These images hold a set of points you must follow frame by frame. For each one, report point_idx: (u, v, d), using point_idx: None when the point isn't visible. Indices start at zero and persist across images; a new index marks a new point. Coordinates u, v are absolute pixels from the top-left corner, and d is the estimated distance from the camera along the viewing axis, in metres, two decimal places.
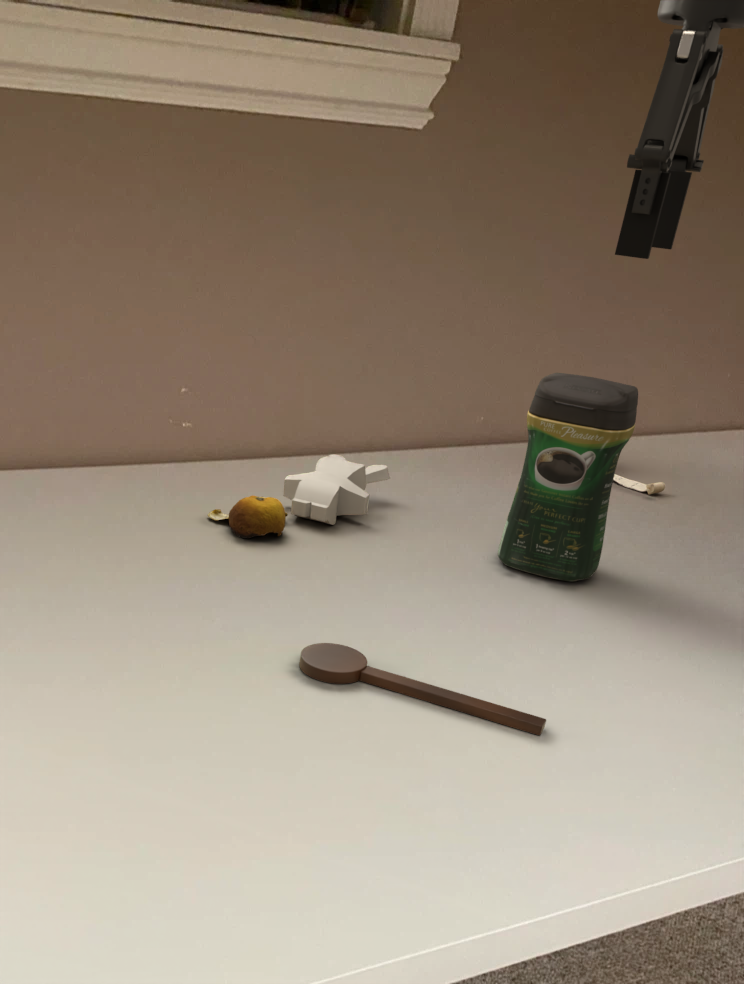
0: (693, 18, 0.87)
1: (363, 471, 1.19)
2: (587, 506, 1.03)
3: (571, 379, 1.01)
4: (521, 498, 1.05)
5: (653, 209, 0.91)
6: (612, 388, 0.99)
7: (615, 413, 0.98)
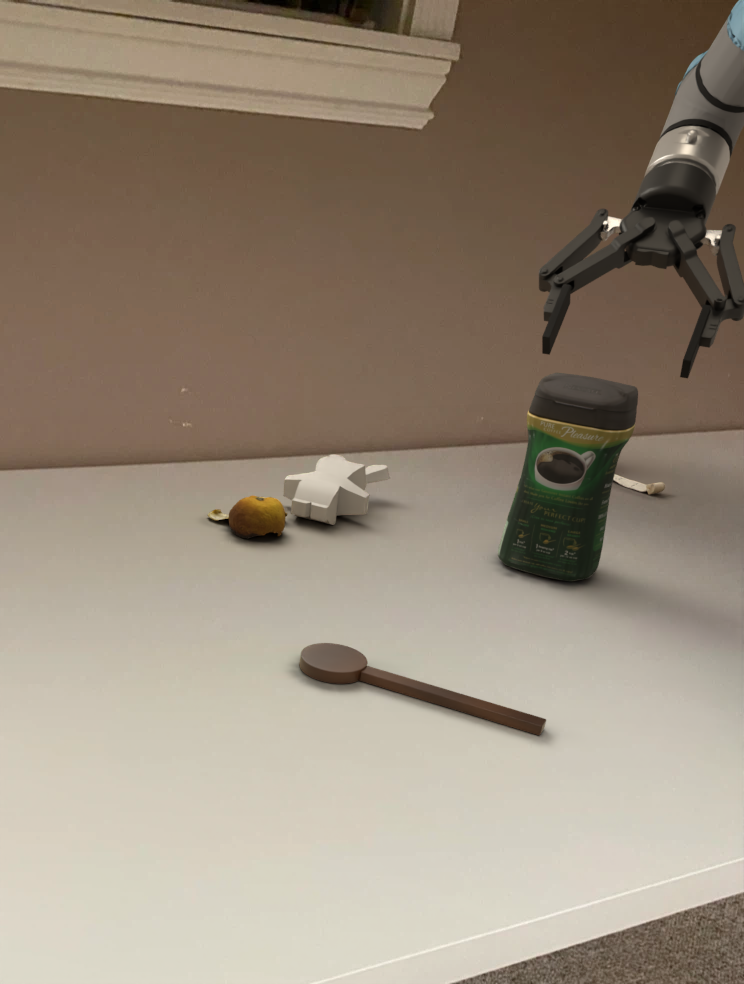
0: (706, 219, 1.11)
1: (363, 471, 1.19)
2: (587, 506, 1.02)
3: (571, 379, 1.01)
4: (521, 498, 1.05)
5: None
6: (612, 388, 0.99)
7: (615, 413, 0.98)
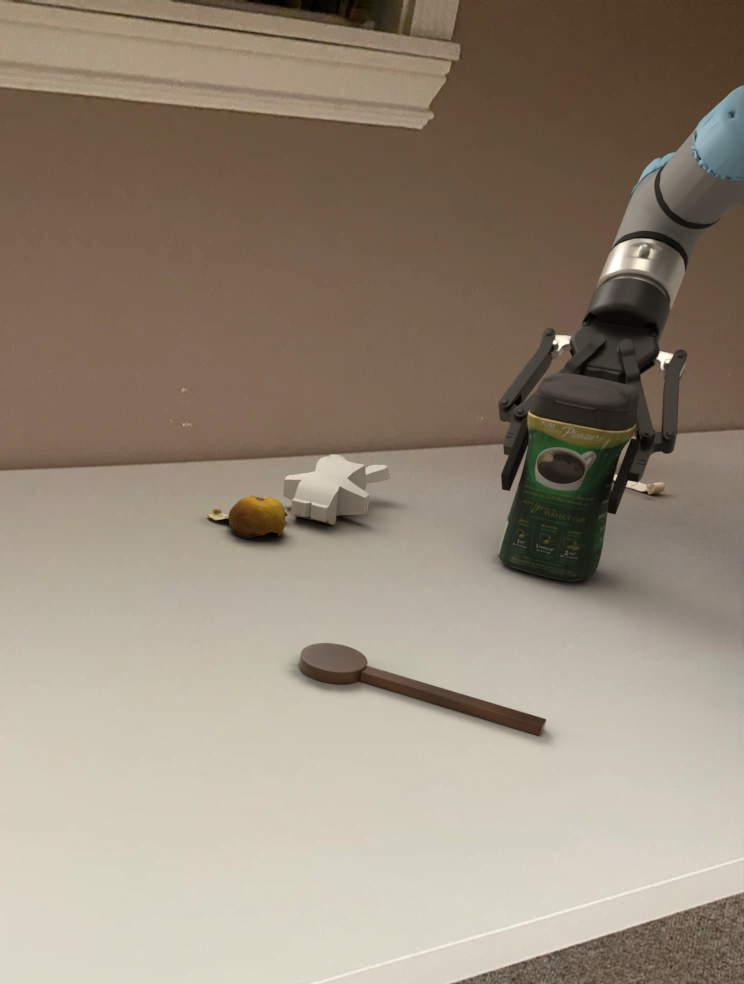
0: (659, 336, 1.06)
1: (363, 471, 1.19)
2: (587, 506, 1.02)
3: (571, 379, 1.01)
4: (521, 498, 1.05)
5: None
6: (613, 388, 0.99)
7: (615, 413, 0.98)
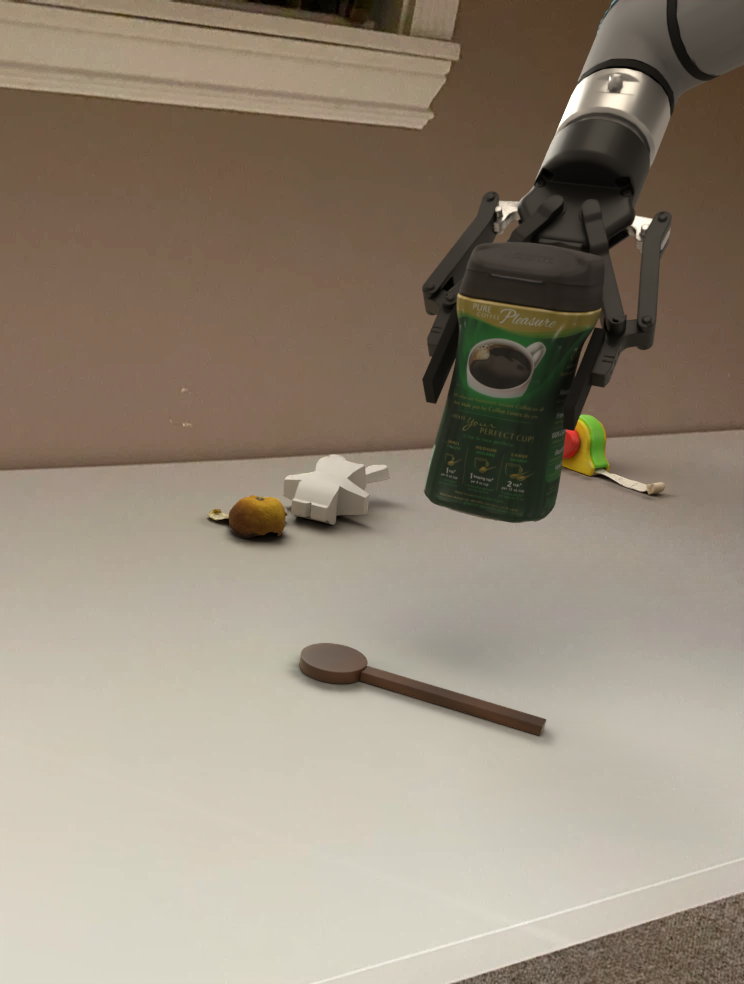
0: (635, 198, 0.80)
1: (363, 471, 1.19)
2: (536, 419, 0.76)
3: (514, 246, 0.75)
4: (450, 412, 0.79)
5: None
6: (568, 255, 0.73)
7: (571, 288, 0.72)
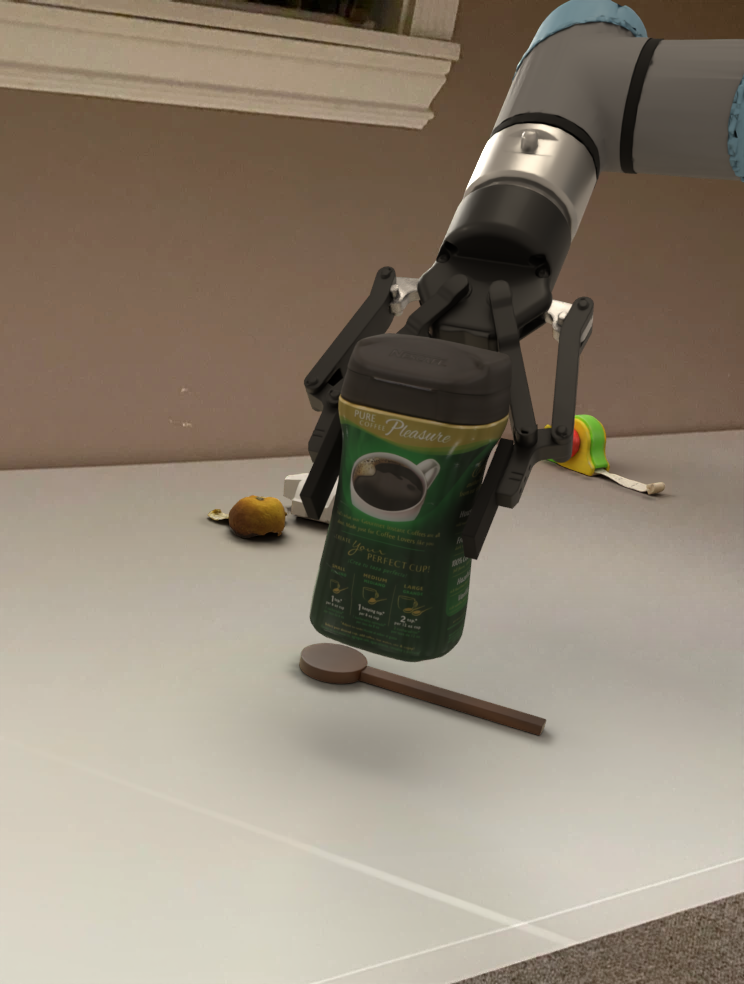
0: (553, 278, 0.67)
1: None
2: (432, 547, 0.64)
3: (403, 342, 0.62)
4: (334, 532, 0.67)
5: None
6: (465, 356, 0.61)
7: (467, 397, 0.60)
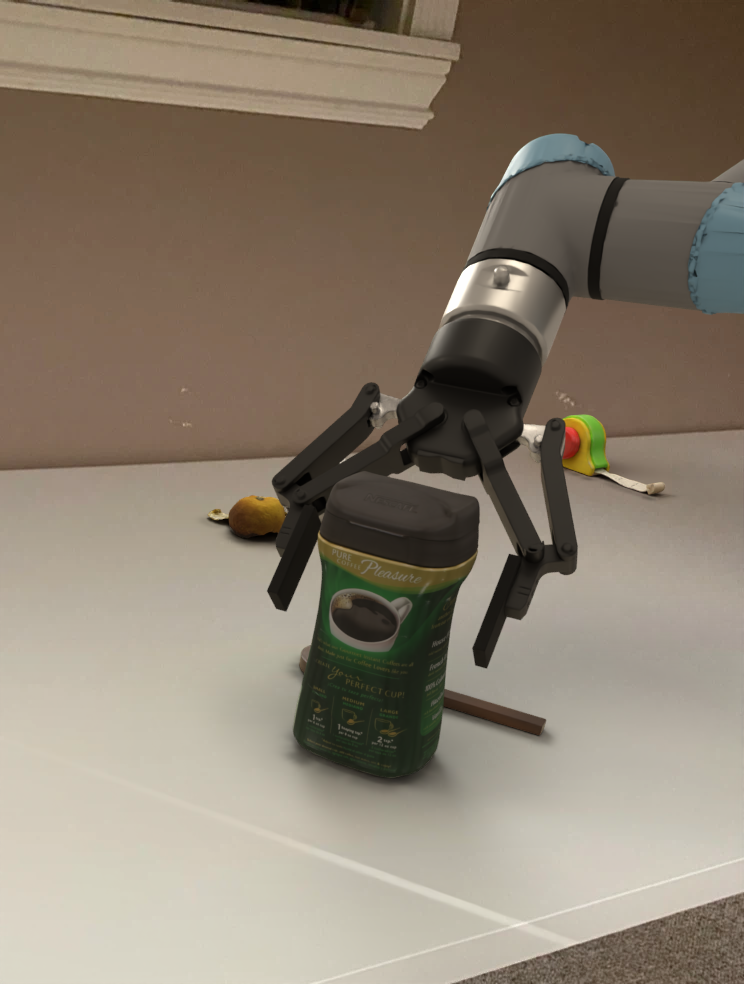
0: (525, 405, 0.71)
1: None
2: (406, 675, 0.68)
3: (377, 485, 0.66)
4: (315, 656, 0.71)
5: None
6: (435, 502, 0.65)
7: (436, 543, 0.64)
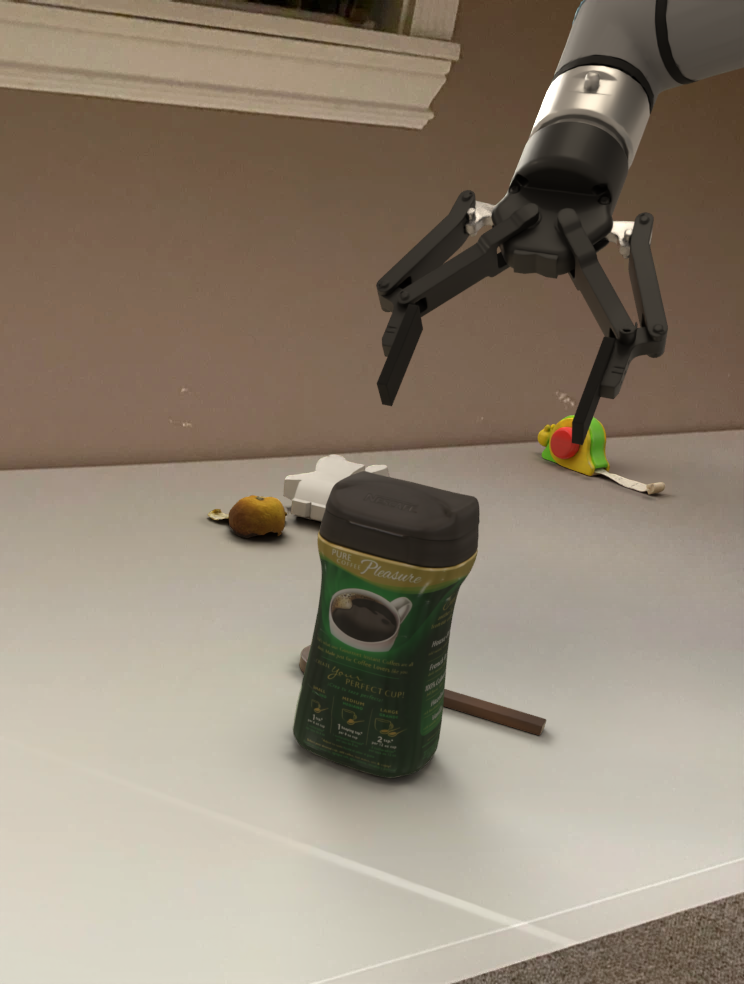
0: (613, 204, 0.76)
1: None
2: (406, 675, 0.68)
3: (377, 486, 0.66)
4: (315, 656, 0.71)
5: None
6: (435, 502, 0.65)
7: (436, 543, 0.64)
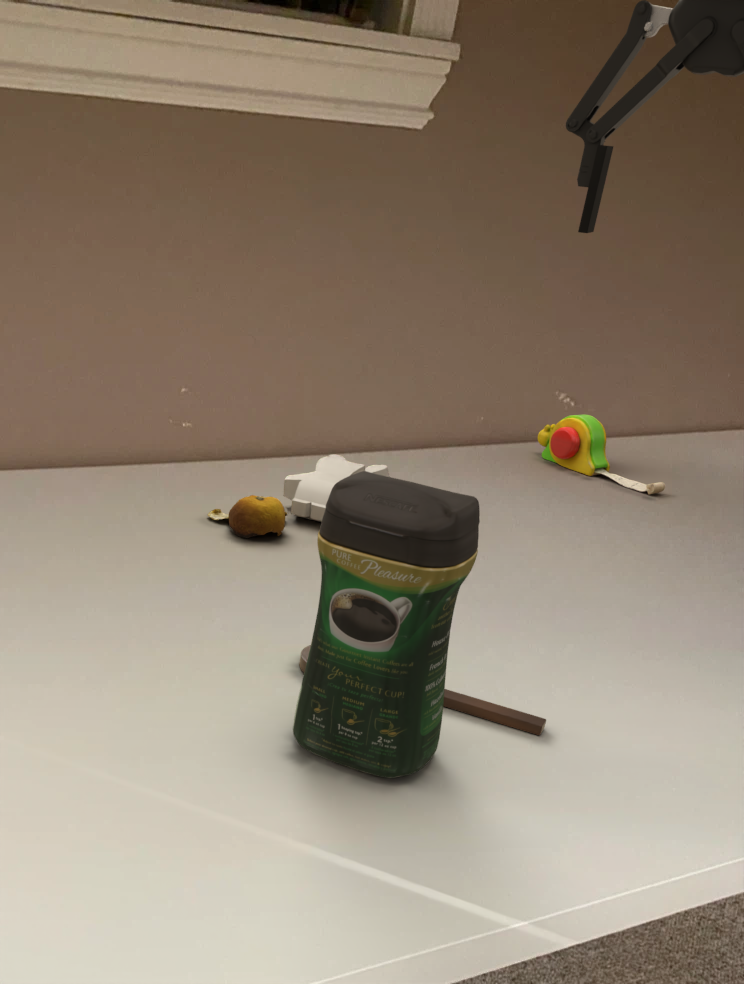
0: None
1: None
2: (406, 675, 0.68)
3: (377, 486, 0.66)
4: (315, 656, 0.71)
5: None
6: (434, 502, 0.65)
7: (436, 543, 0.64)
